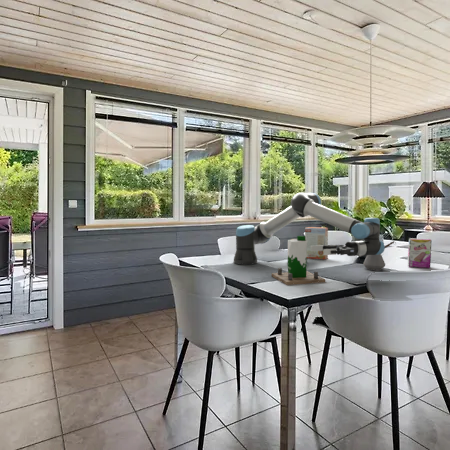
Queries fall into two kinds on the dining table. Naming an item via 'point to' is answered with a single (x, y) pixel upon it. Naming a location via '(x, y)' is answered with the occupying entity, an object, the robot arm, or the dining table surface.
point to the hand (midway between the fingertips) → (317, 250)
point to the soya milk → (297, 257)
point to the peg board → (288, 279)
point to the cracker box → (316, 241)
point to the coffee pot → (375, 261)
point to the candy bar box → (419, 253)
